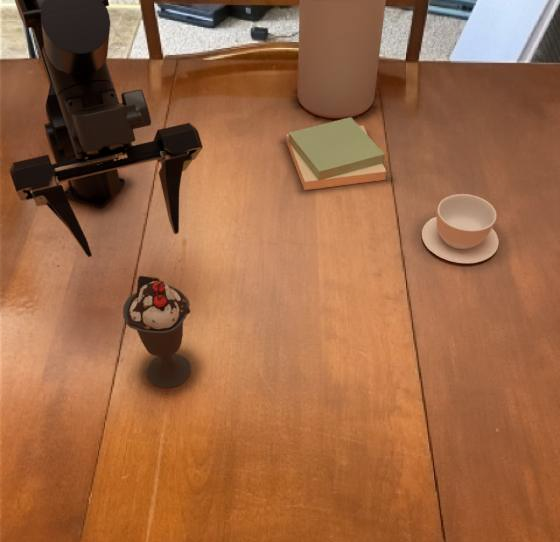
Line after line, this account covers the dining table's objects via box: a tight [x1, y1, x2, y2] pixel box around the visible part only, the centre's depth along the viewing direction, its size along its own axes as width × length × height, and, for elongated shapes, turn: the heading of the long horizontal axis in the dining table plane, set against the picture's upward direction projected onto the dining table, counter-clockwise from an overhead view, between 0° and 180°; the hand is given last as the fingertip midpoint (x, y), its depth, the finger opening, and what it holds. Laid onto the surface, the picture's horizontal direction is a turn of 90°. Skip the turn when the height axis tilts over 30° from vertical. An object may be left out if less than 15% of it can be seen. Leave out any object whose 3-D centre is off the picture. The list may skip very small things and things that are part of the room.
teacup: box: [421, 193, 499, 264], centre depth 88 cm, size 10×10×5 cm
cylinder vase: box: [297, 0, 387, 119], centre depth 101 cm, size 12×12×25 cm
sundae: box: [122, 275, 192, 389], centre depth 70 cm, size 7×7×15 cm
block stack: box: [286, 117, 387, 191], centre depth 99 cm, size 12×12×3 cm
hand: (133, 244), depth 70 cm, fingers open, 9 cm apart
